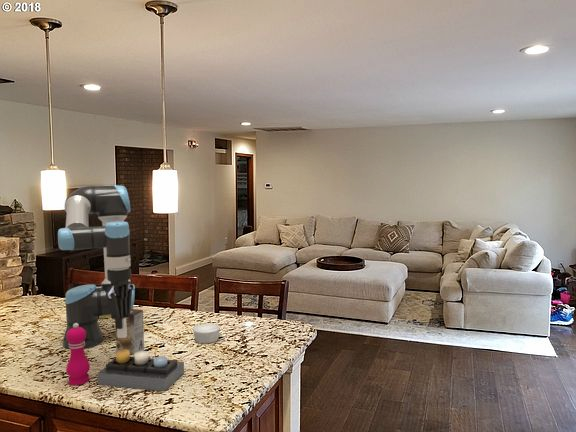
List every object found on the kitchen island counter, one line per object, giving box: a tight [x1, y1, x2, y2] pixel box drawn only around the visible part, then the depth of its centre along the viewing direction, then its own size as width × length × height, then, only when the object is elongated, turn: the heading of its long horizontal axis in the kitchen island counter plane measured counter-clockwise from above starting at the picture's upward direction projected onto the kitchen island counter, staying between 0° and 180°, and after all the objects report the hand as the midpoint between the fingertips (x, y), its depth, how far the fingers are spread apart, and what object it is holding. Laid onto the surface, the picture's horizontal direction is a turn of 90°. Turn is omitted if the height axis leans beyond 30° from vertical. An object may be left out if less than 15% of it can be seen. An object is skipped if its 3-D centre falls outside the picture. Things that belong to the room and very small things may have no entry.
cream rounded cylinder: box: [133, 350, 149, 366], centre depth 156 cm, size 4×4×7 cm
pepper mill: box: [65, 323, 91, 386], centre depth 155 cm, size 7×7×20 cm
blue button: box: [154, 355, 168, 368], centre depth 155 cm, size 4×4×7 cm
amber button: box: [115, 349, 131, 365], centre depth 158 cm, size 4×4×7 cm
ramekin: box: [192, 322, 221, 344], centre depth 193 cm, size 11×11×5 cm
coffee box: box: [114, 308, 145, 355], centre depth 182 cm, size 9×6×16 cm
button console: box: [97, 356, 185, 392], centre depth 157 cm, size 24×14×6 cm, turn 77°
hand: (122, 336), depth 157 cm, fingers closed
